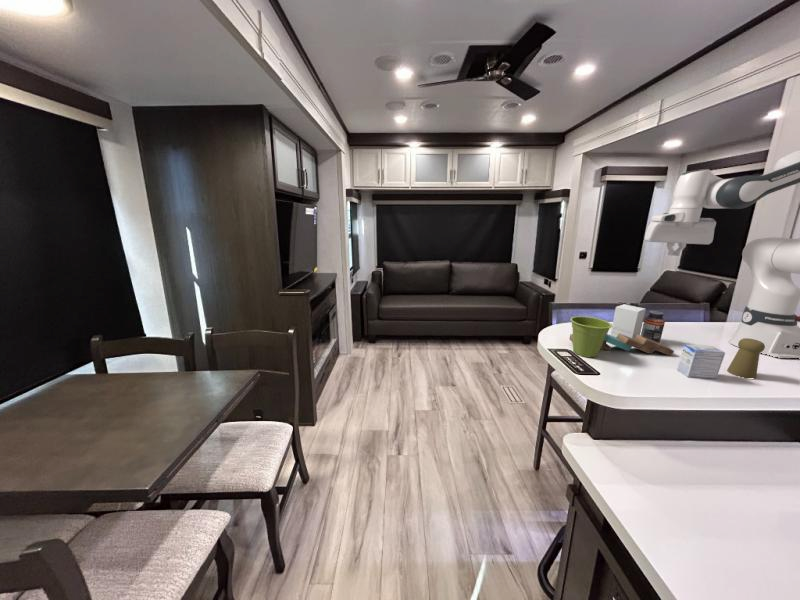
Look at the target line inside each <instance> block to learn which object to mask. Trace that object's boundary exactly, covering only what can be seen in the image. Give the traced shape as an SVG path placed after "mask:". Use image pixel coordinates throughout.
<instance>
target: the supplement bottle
mask: <svg viewBox="0 0 800 600" xmlns="http://www.w3.org/2000/svg"><path fill="white" fill-rule="evenodd" d="M663 317H664V313H663V312H661V311H658V310H657V311H656V310H649V314H648V316H644V319H643V323H642V328H641V332H640V335H641V336H643V337H646V338H648V339H650V340H653V341H655V342H658V343H661V339H662V335H663V333H664V327H665V322H666V319H664V318H663Z"/></svg>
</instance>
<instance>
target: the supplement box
mask: <svg viewBox="0 0 800 600" xmlns="http://www.w3.org/2000/svg"><path fill="white" fill-rule="evenodd" d="M646 310H647V309H646V308H644V307H640V306H639V307H638V306H634V305H631V304H630V305H629V304H625V303H623V304H621V305H617V306H615V310H614V315H613V320H612V323H611V324H612V327H611V328H610V329H611V330H610V334H609V335H611V336H613V337H617V336H618V334H619V333H620V334H623V335H625V336H628V337H630V338H633V339H634V338H635V337H636V335H637V334H638V335H641V332H642V328H643V324H644V320H645V314H646Z"/></svg>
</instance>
